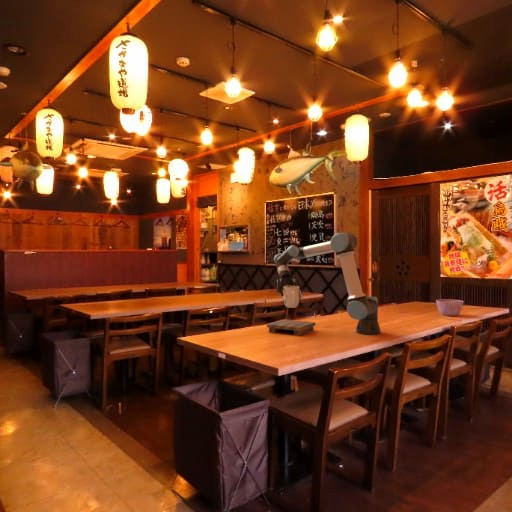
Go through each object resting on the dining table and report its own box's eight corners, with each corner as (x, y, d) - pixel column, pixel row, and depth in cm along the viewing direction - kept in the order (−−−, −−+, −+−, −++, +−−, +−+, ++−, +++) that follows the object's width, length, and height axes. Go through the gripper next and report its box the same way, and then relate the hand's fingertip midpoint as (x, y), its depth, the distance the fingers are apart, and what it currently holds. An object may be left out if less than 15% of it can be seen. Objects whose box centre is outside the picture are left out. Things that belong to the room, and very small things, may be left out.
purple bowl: (468, 317, 325) (468, 302, 325) (442, 317, 326) (442, 302, 325) (456, 313, 345) (456, 299, 345) (431, 313, 346) (431, 299, 345)
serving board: (315, 329, 281) (315, 322, 281) (300, 336, 262) (300, 327, 262) (283, 326, 294) (283, 319, 293) (266, 332, 275) (266, 324, 275)
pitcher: (285, 309, 267) (285, 287, 266) (281, 305, 285) (281, 284, 284) (302, 309, 268) (302, 287, 267) (297, 305, 286) (297, 284, 285)
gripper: (298, 276, 294) (308, 301, 280) (266, 277, 287) (275, 303, 272) (301, 269, 289) (312, 294, 275) (269, 270, 282) (278, 296, 267)
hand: (293, 299), depth 273 cm, fingers closed on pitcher, 11 cm apart
